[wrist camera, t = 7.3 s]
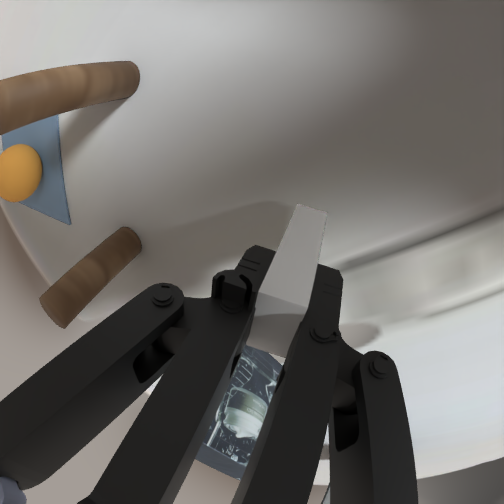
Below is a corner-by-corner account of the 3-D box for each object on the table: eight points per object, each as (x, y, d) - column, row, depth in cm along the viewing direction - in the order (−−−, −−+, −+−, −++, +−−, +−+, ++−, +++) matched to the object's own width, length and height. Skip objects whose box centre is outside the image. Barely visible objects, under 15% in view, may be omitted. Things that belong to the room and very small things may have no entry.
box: (316, 392, 25) (291, 487, 16) (267, 400, 28) (237, 480, 20) (247, 328, 22) (194, 441, 14) (200, 344, 26) (149, 433, 18)
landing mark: (0, 93, 17) (-1, 94, 17) (58, 78, 15) (56, 79, 14) (13, 198, 25) (12, 199, 25) (71, 224, 23) (69, 225, 23)
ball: (-18, 159, 13) (35, 142, 16) (-4, 148, 17) (41, 134, 20) (-6, 218, 16) (44, 201, 19) (4, 197, 20) (47, 184, 23)
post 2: (115, 223, 21) (34, 290, 13) (140, 232, 20) (57, 307, 13) (119, 249, 22) (47, 317, 15) (142, 258, 22) (70, 334, 15)
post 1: (112, 62, 13) (-10, 84, 6) (141, 59, 13) (9, 76, 6) (110, 98, 15) (-8, 135, 8) (138, 98, 14) (10, 135, 7)
